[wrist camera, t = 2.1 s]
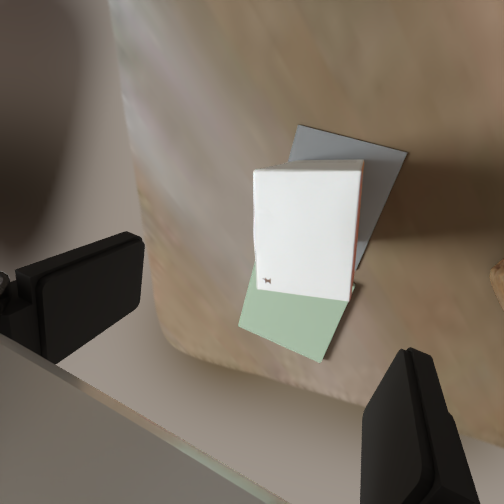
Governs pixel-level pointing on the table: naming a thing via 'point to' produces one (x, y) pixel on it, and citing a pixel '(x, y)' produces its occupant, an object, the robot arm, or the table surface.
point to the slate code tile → (374, 173)
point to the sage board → (292, 319)
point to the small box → (307, 227)
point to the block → (498, 281)
